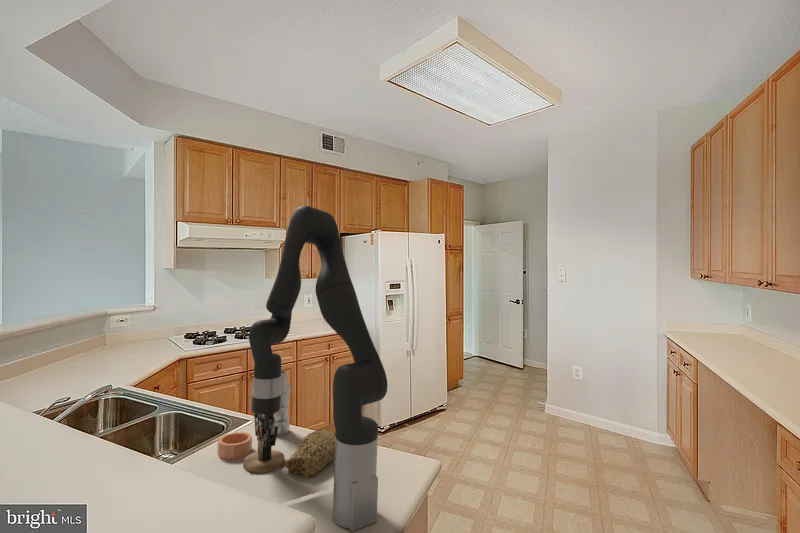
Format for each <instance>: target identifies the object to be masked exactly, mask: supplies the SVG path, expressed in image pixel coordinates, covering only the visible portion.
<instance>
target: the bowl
mask: <svg viewBox="0 0 800 533" xmlns="http://www.w3.org/2000/svg"><path fill="white" fill-rule="evenodd" d="M216 448H217V450H216V452H217V453H216V455H217V456H218V458H220V459H222V460H236V459H240V458H245V457H246V456H248V455H249V454H251V451H252V449H253V435H252V434H251V433H248V432H245V431H244V432H243V431H237V432H236V431H235V432H231V433H230V432H229V433H227V434H224V435H222V436H220V437H219V438H218V439H217V446H216Z"/></svg>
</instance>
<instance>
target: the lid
mask: <svg viewBox="0 0 800 533" xmlns="http://www.w3.org/2000/svg"><path fill="white" fill-rule="evenodd" d="M262 447H263V446H262V438H261V439H260V440H259V453H258V450H257V451H255V452H252V453H251V452H250V453H249V454H248V455H246V456H244V459H243V460H244V461H242V463H243V464H242V466H243V469H244V470H245V471H247V472H248V473H250V472H253V473H258V474H264V473H265V474H266V473H269V472H274V471H275V470H278V469H280V468H282V467H281V466H282V465H283V463H285V454H284V453H283V452H281V451H279V450H274V449H271V459H270V460H267V461H263V460H262ZM279 467H280V468H279Z"/></svg>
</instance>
